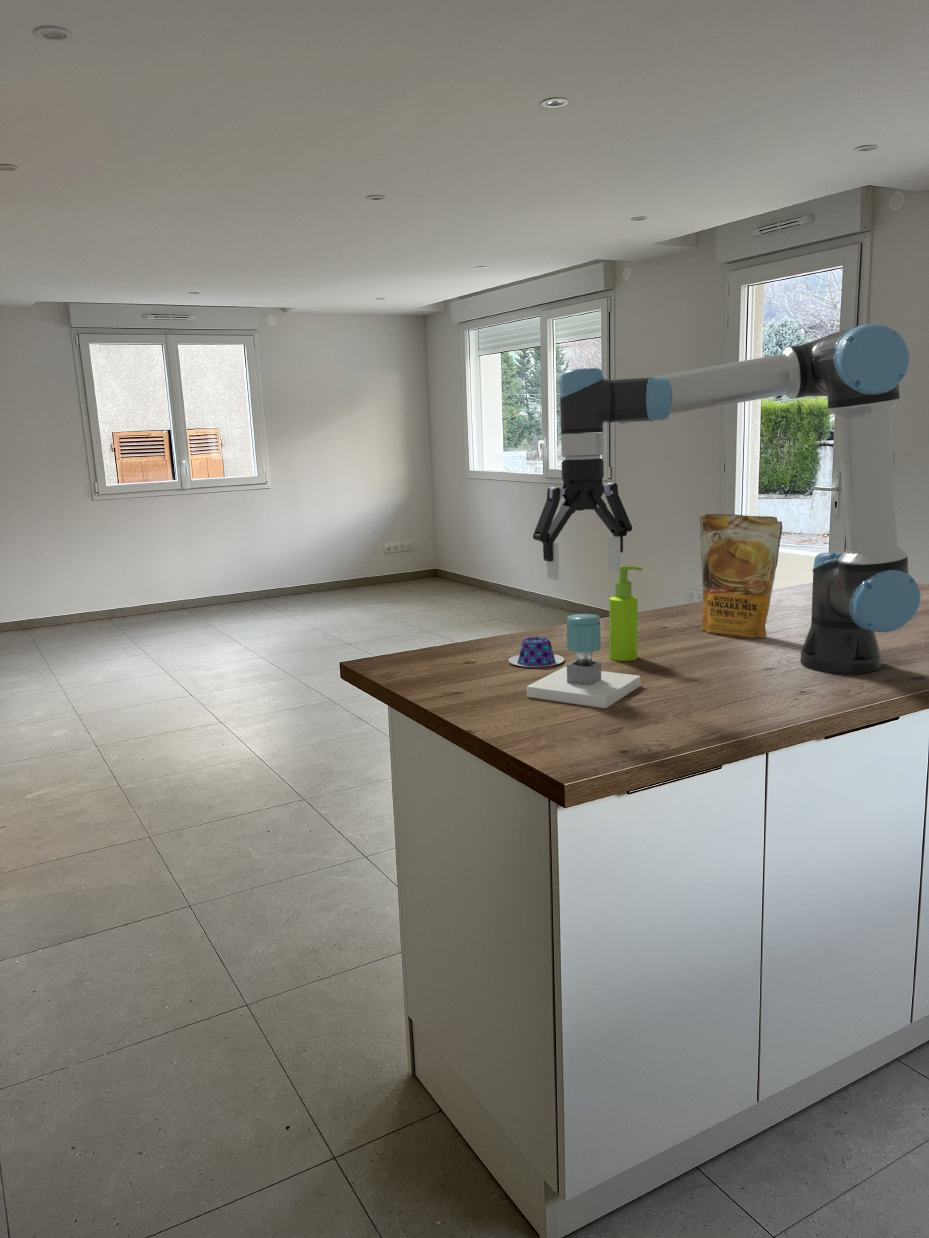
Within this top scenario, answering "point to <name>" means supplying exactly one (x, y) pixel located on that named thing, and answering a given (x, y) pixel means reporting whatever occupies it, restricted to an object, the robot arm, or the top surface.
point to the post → (584, 658)
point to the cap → (583, 633)
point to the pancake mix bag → (738, 572)
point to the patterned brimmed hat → (536, 653)
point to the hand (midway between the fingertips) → (584, 575)
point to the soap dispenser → (623, 618)
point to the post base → (584, 685)
